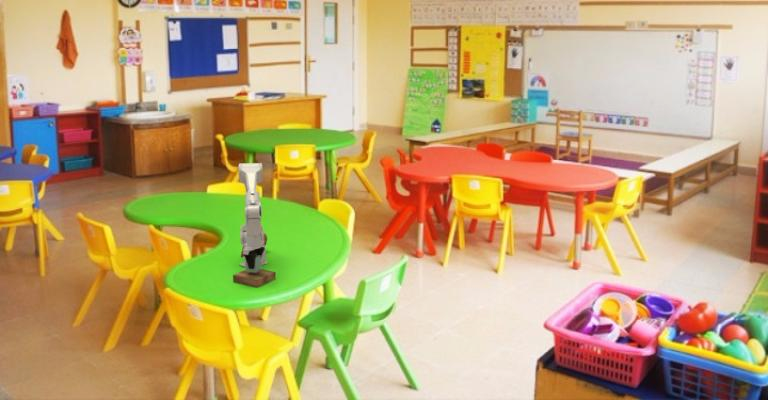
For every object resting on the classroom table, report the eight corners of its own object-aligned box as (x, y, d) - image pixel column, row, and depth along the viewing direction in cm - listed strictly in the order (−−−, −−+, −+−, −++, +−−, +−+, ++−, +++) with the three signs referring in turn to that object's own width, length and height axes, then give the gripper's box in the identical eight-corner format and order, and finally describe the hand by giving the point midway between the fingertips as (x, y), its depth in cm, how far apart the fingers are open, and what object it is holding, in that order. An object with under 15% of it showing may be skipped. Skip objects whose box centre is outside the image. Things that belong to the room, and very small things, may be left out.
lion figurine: (262, 250, 360) (262, 231, 358) (270, 252, 357) (270, 233, 354) (237, 257, 349) (236, 237, 347) (244, 259, 346) (244, 240, 344)
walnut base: (252, 273, 328) (252, 266, 327) (275, 279, 322) (275, 272, 322) (233, 282, 318) (233, 274, 317) (256, 287, 312) (256, 280, 311)
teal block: (251, 268, 322) (250, 254, 320) (261, 269, 320) (260, 255, 319) (245, 271, 318) (245, 257, 316) (255, 272, 316) (255, 258, 315)
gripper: (253, 228, 323) (253, 260, 326) (235, 237, 310) (236, 270, 313) (268, 230, 321) (269, 262, 324) (251, 239, 308) (252, 273, 311)
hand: (254, 266), depth 319 cm, fingers closed on teal block, 4 cm apart
